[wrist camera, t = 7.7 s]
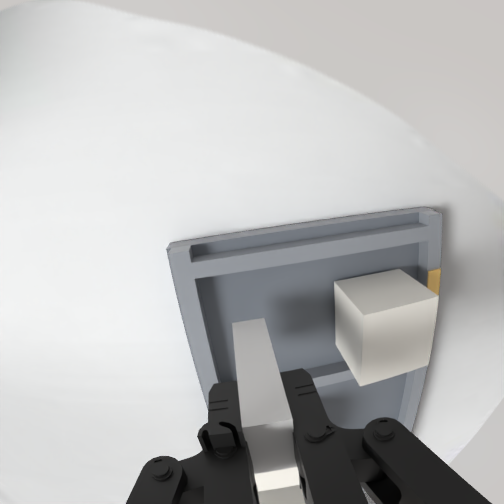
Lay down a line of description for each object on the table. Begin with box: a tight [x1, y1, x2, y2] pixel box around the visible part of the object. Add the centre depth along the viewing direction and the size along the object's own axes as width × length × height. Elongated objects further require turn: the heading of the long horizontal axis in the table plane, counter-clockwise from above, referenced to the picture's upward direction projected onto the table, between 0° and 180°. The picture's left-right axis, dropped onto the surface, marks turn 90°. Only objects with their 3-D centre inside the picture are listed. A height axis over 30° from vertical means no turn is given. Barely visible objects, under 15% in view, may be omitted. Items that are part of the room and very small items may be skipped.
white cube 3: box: [258, 485, 305, 504], centre depth 20 cm, size 4×4×4 cm
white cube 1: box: [334, 269, 439, 386], centre depth 15 cm, size 4×4×4 cm
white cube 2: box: [254, 467, 300, 491], centre depth 17 cm, size 4×4×4 cm
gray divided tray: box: [166, 207, 442, 491], centre depth 20 cm, size 26×15×2 cm, turn 8°
